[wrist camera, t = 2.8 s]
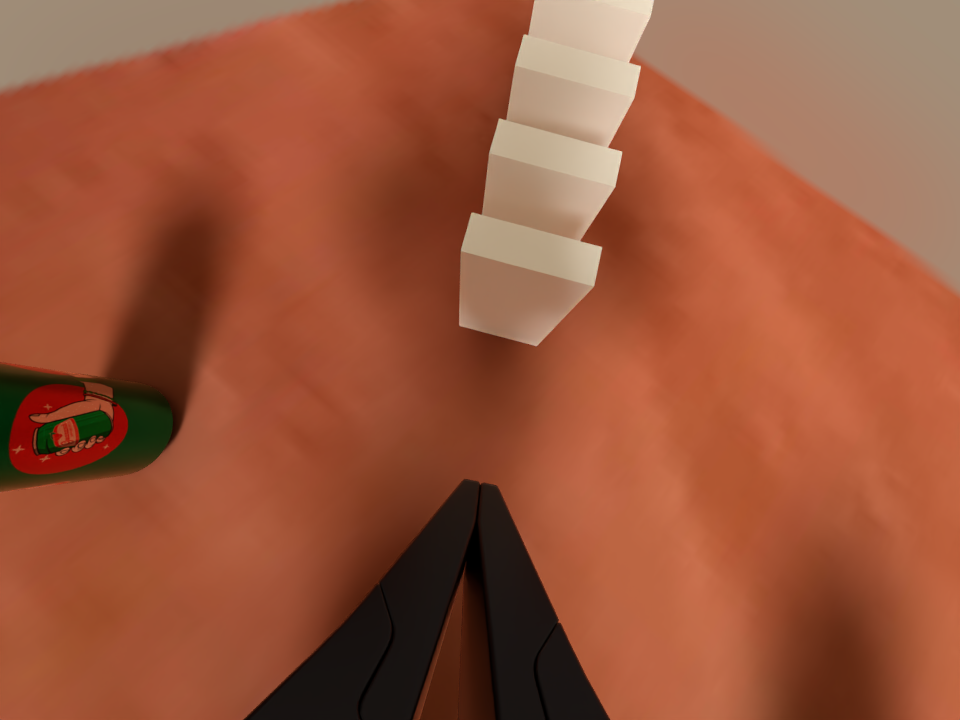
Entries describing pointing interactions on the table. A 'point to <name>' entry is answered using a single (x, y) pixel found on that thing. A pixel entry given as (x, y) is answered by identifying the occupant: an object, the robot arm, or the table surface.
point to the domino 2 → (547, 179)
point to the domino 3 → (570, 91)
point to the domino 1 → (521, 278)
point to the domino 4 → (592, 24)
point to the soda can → (76, 427)
